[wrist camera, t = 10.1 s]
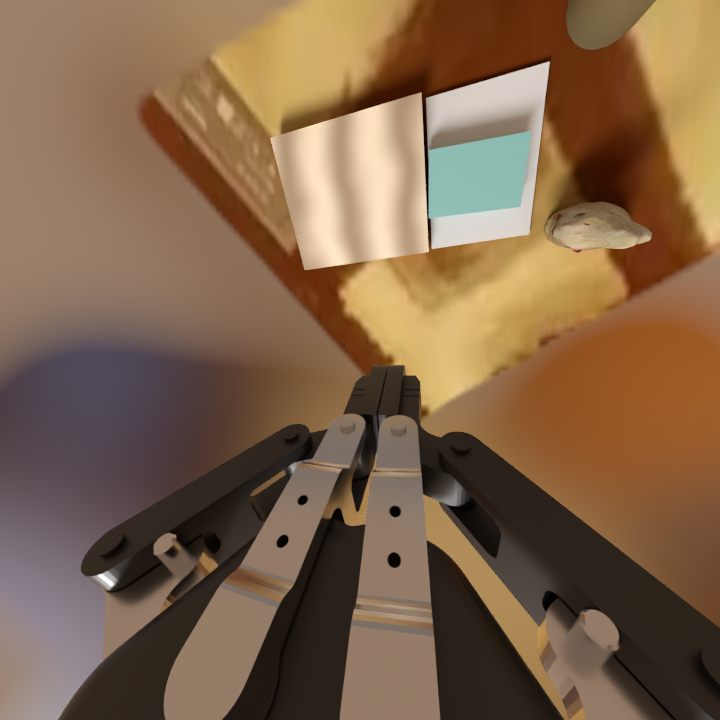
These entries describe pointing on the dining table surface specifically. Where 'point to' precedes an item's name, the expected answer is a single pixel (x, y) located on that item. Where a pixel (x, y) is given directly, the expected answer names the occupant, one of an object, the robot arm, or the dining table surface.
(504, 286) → the dining table surface
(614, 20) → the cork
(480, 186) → the teal rectangular block
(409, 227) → the cream flat block
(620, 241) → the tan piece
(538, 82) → the mat
